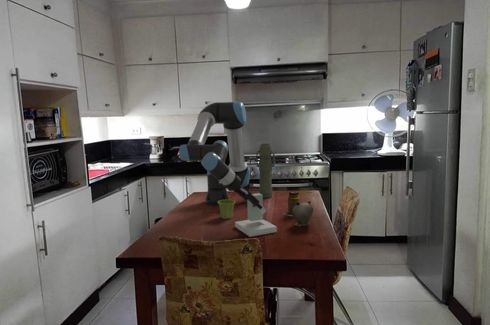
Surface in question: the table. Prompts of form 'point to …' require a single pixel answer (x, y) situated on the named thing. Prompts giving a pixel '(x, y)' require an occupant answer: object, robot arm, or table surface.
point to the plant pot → (226, 208)
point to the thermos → (265, 170)
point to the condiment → (292, 202)
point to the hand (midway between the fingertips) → (262, 210)
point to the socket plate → (255, 227)
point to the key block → (253, 211)
